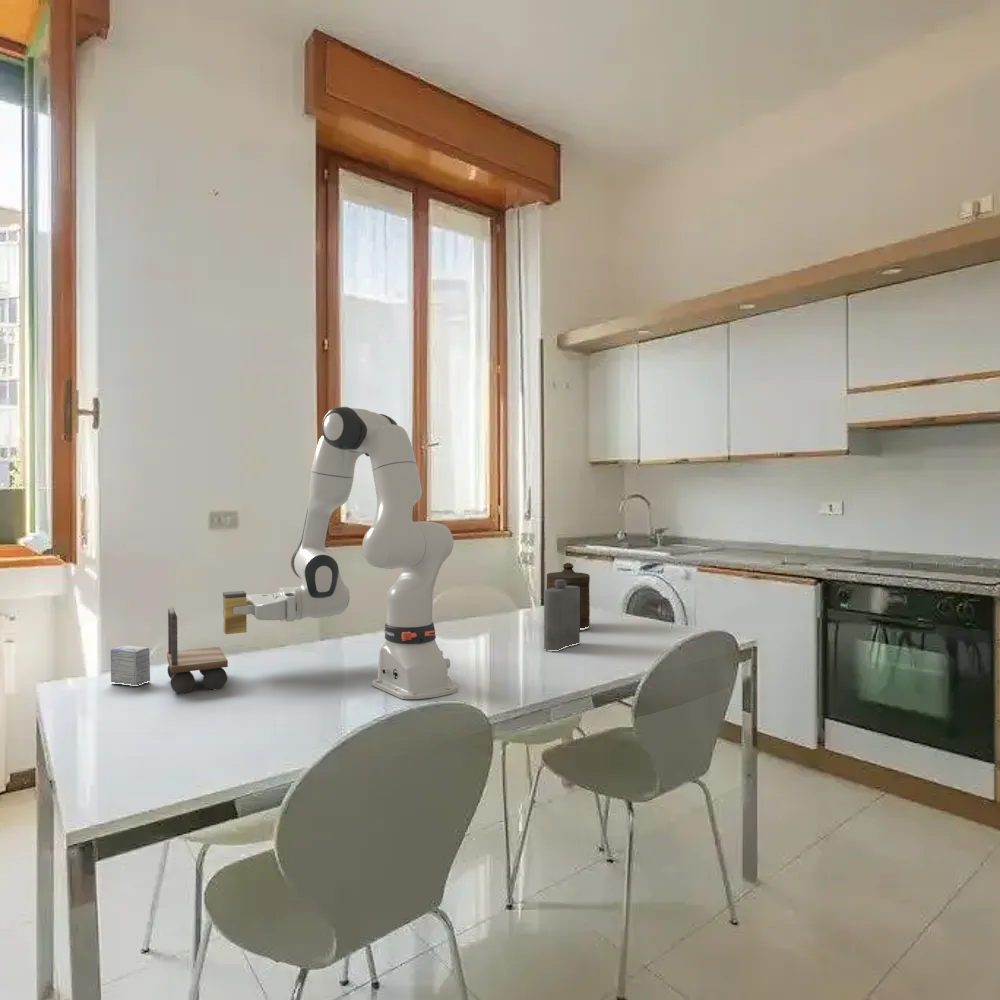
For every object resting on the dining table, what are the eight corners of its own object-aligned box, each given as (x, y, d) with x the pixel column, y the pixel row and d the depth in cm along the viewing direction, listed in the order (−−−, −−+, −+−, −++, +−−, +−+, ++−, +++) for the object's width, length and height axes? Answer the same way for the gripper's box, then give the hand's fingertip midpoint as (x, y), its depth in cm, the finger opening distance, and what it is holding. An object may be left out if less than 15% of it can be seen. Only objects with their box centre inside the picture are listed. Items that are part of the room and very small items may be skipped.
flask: (566, 641, 214) (566, 576, 213) (582, 644, 210) (582, 578, 210) (538, 650, 202) (538, 581, 202) (554, 653, 198) (554, 583, 198)
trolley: (227, 689, 162) (227, 612, 162) (171, 696, 157) (170, 616, 156) (219, 673, 176) (219, 602, 176) (167, 679, 171) (166, 606, 170)
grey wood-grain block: (150, 682, 168) (150, 647, 168) (135, 687, 163) (135, 651, 163) (125, 679, 170) (125, 644, 170) (110, 684, 166) (109, 648, 166)
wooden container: (596, 626, 237) (596, 562, 237) (577, 634, 225) (578, 566, 224) (558, 621, 245) (558, 559, 245) (537, 629, 233) (537, 563, 232)
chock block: (246, 632, 175) (246, 593, 175) (225, 634, 173) (225, 594, 173) (243, 629, 179) (243, 590, 179) (223, 631, 177) (222, 592, 177)
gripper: (278, 587, 191) (225, 590, 185) (295, 597, 173) (236, 601, 167) (279, 609, 191) (225, 614, 185) (295, 622, 174) (236, 627, 167)
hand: (231, 608), depth 176 cm, fingers closed on chock block, 4 cm apart
